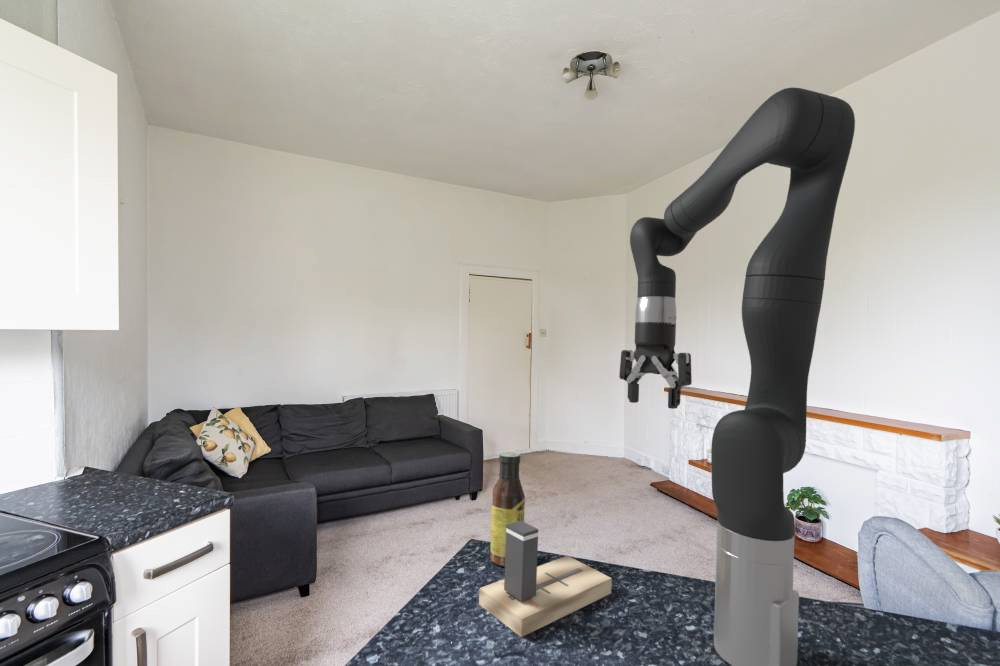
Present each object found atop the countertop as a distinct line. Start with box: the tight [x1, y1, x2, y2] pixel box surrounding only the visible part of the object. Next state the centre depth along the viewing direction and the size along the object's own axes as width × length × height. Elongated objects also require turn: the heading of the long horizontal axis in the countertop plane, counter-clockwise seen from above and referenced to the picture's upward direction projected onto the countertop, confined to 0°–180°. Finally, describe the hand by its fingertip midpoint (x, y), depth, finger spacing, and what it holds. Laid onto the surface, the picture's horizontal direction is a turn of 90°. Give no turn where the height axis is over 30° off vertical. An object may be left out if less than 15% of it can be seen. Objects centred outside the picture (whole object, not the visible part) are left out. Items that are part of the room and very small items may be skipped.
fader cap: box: [504, 521, 539, 601], centre depth 72 cm, size 4×3×10 cm
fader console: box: [478, 555, 613, 638], centre depth 75 cm, size 10×20×3 cm, turn 129°
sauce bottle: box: [489, 451, 526, 567], centre depth 88 cm, size 7×6×20 cm
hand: (652, 405), depth 90 cm, fingers open, 8 cm apart
